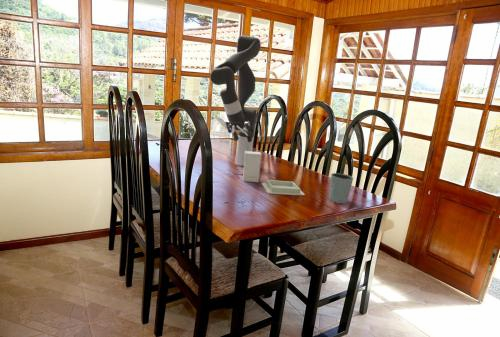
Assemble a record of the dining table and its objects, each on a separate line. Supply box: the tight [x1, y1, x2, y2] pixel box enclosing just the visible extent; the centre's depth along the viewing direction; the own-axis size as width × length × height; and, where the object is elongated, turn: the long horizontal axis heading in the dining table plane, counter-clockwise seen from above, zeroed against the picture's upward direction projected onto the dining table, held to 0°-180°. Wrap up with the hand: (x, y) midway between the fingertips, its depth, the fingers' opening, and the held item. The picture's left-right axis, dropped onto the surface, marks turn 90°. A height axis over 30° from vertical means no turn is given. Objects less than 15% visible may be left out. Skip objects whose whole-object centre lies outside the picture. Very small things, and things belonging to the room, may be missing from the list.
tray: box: [261, 179, 306, 196], centre depth 171 cm, size 14×18×3 cm
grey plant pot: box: [328, 172, 354, 204], centre depth 164 cm, size 10×10×12 cm
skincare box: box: [242, 150, 262, 183], centre depth 178 cm, size 8×6×15 cm
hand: (243, 140), depth 169 cm, fingers open, 8 cm apart
